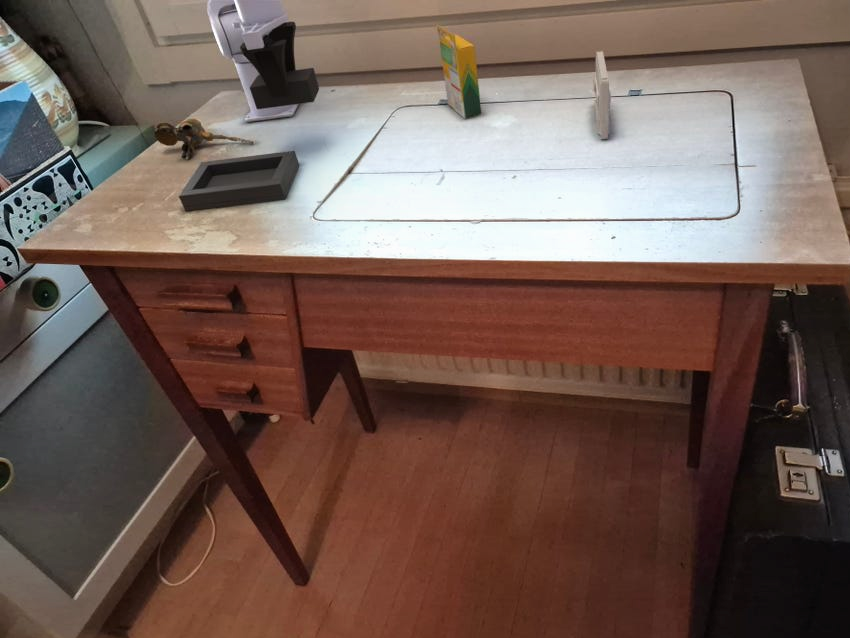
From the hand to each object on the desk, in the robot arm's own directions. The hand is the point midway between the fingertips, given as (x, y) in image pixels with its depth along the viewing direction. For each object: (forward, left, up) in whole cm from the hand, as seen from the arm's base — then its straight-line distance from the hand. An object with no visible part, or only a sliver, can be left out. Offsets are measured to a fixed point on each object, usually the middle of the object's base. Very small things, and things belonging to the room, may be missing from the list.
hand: (285, 89), depth 91 cm
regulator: (-5, -16, -9) cm, 19 cm away
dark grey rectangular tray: (+11, -6, -9) cm, 15 cm away
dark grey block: (0, 0, -1) cm, 1 cm away
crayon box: (-7, +24, -9) cm, 26 cm away
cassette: (+4, +43, -9) cm, 44 cm away
